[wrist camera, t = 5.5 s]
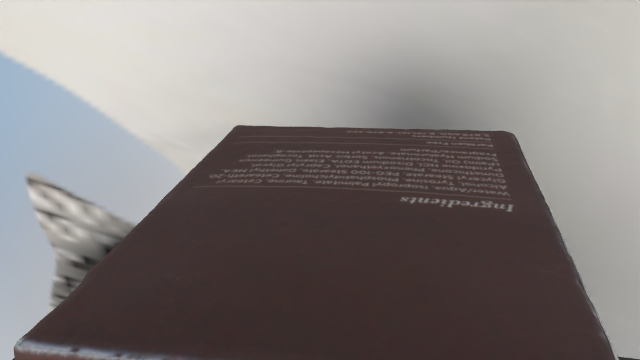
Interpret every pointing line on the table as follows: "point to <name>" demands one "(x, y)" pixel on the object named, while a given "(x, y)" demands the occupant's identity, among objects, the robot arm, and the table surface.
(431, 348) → the box
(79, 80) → the table surface
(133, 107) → the table surface
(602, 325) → the robot arm
